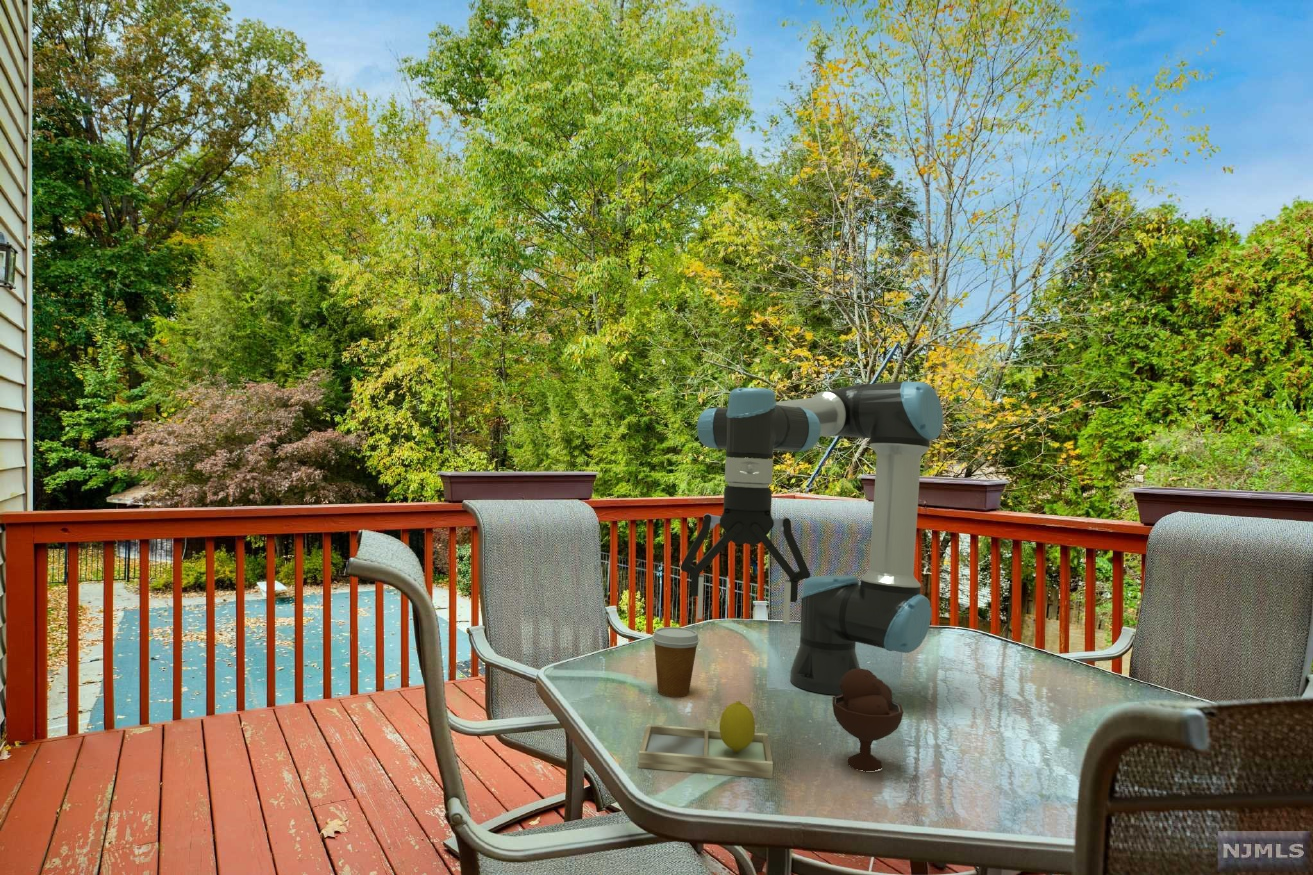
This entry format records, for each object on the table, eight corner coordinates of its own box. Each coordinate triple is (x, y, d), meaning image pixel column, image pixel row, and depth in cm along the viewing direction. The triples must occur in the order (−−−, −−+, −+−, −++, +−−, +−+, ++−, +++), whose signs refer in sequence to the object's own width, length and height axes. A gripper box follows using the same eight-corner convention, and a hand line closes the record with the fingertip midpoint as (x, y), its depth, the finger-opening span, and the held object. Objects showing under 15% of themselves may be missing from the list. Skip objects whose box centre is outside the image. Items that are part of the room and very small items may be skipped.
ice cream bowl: (892, 786, 107) (895, 683, 108) (819, 766, 113) (822, 669, 114) (909, 763, 116) (912, 668, 117) (840, 745, 122) (844, 655, 123)
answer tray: (767, 747, 120) (767, 733, 120) (772, 778, 108) (772, 763, 108) (646, 737, 122) (646, 724, 122) (638, 767, 110) (638, 752, 110)
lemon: (715, 745, 117) (718, 695, 118) (749, 746, 118) (752, 696, 118) (721, 759, 112) (724, 706, 112) (757, 760, 112) (759, 707, 112)
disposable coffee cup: (693, 702, 141) (696, 639, 141) (645, 696, 143) (648, 634, 143) (700, 687, 150) (702, 629, 151) (654, 682, 152) (657, 624, 153)
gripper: (668, 482, 113) (662, 619, 113) (831, 490, 111) (826, 630, 111) (671, 481, 121) (665, 610, 120) (824, 488, 119) (819, 619, 118)
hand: (742, 620), depth 116 cm, fingers open, 13 cm apart
